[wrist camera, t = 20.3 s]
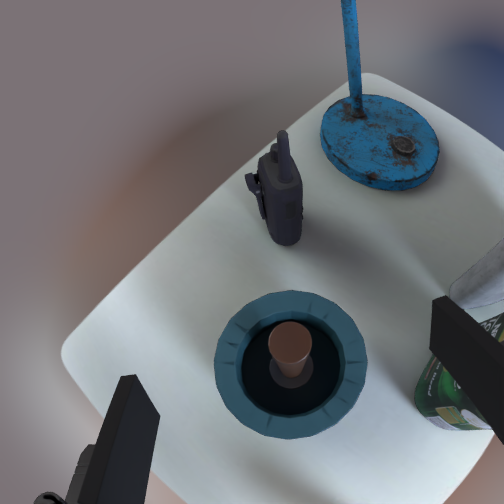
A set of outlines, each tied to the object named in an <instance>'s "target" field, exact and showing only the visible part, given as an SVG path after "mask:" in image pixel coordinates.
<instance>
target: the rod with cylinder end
mask: <svg viewBox="0 0 504 504" xmlns="http://www.w3.org/2000/svg"><path fill="white" fill-rule="evenodd" d="M268 346H269V350H270V352H271V354H272V356H273V357H272V359H271V361H270V366H269V370H270V374H271V377H272V379H273V380H274V381H275V382H276V383H277V384H278V385H279V386H281V387H283V388H286V389H297V388H300V387H301V386H303V385H304V384H306V383H307V382H308V381H309V379H310V378H311V376H312V374H313V370H314V364H313V360H312V358H311V356H310V354H309V353H310V350H311V347H312V338H311V335H310V333H309V331H308V330H307V329H306V328H305V327H304V326H303V325H301V324H299V323H297V322H284V323H282V324H280V325H278V326H277V327H275V328H274V329H273V331H272V332H271V334H270V336H269V341H268Z"/></svg>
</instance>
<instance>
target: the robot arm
mask: <svg viewBox="0 0 504 504" xmlns="http://www.w3.org/2000/svg"><path fill="white" fill-rule="evenodd" d="M429 349H430V350H431V352H432V353H433V354H434V355H435V356H436V358H437V359H438V360H439V361H440V362H441V364H442V365H443V366H444V367H445V369H446V370H447V371H448V372H449V374H450V375H451V376H452V377H453V379H454V380H455V381H456V382H457V384H458V385H459V386H460V387H461V389H462V390H463V391H464V393H465V394H466V395H467V396H468V398H469V399H470V400H471V402H472V403H473V404H474V406H475V407H476V408H477V409H478V411H479V412H480V413H481V415H482V416H483V417H484V419H485V420H486V421H487V423H488V424H489V426H490V427H491V428H492V430H493V431H494V432H495V434H496V435H497V436H498V438H499V439H500V441H501V442H502V443H503V445H504V340H503V341H501V342H499V341H498V340H497V339H495V338H494V337H493V336H492V335H491V334H490V333H489V332H488V331H487V330H486V329H484V328H483V327H482V326H481V325H480V324H479V323H478V322H477V321H475V320H474V319H473V318H472V317H471V316H470V315H469V314H468V313H466V312H465V311H464V310H463V309H462V308H461V307H459V306H458V305H457V304H456V303H455V302H454V301H452V300H451V299H450V298H449V297H448V296H446V295H445V296H442V297H440V298H437V299H434V300H432V319H431V334H430V347H429ZM159 420H160V415H159V413H158V412H157V410H156V408H155V407H154V405H153V403H152V402H151V400H150V398H149V397H148V395H147V393H146V391H145V390H144V388H143V386H142V384H141V383H140V381H139V379H138V377H137V375H136V374H134V375H127V376H121V377H120V380H119V382H118V385H117V388H116V390H115V393H114V395H113V398H112V401H111V403H110V406H109V408H108V411H107V414H106V417H105V419H104V422H103V425H102V428H101V430H100V433H99V436H98V439H97V442H96V445H92V444H89V445H88V446H87V447H86V448H85V449H84V451H83V452H82V453H81V455H80V458H79V461H78V463H77V464H78V466H76V469H75V474H74V475H73V478H72V481H71V484H70V487H69V490H68V493H67V496H66V499H65V501H64V500H63V499H62V498H61V497H59V496H58V495H57V494H55V493H53V492H45V493H43V494H41V495H40V496H38V497H37V498H36V500H35V501H34V504H144V502H145V496H146V489H147V484H148V478H149V472H150V467H151V462H152V456H153V451H154V446H155V441H156V435H157V430H158V425H159Z"/></svg>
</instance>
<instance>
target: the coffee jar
mask: <svg viewBox="0 0 504 504" xmlns="http://www.w3.org/2000/svg"><path fill="white" fill-rule="evenodd" d="M479 324H480V325H481V326H482V327H483V328H484V329H486V330H487V331H488V332H489V333H490V334H491V335H492V336H493V337H494V338H495V339H497V340H498V341H499V342H501V341H503V340H504V312H503V313H502V314H500V315H498V316H496V317H493V318H491V319H488V320H486V321H483V322H481V323H479ZM415 403H416V406H417V408H418V410H419V411H420V413H421V414H422V415H423V416H424V417H425V418H427V419H428V420H429V421H430V422H432V423H433V424H435V425H437V426H439V427H441V428H443V429H447V430H456V431H462V430H482V429H492V428H491V427H490V426H489V424H488V423H487V421H486V420H485V419H484V417H483V416H482V415H481V413H480V412H479V411H478V409H477V408H476V407H475V406H474V404H473V403H472V402H471V400H470V399H469V398H468V396H467V395H466V394H465V393H464V391H463V390H462V389H461V387H460V386H459V385H458V384H457V382H456V381H455V380H454V379H453V377H452V376H451V375H450V374H449V372H448V371H447V370H446V369H445V367H444V366H443V365H442V364H441V362H440V361H439V360H438V359H437V358H436V356H435V355H434V354H433V356H432V357H431V359H430V360H429V362H428V364H427V366H426V367H425V369H424V371H423V373H422V375H421V377H420V379H419V381H418V384H417V386H416V390H415Z"/></svg>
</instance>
